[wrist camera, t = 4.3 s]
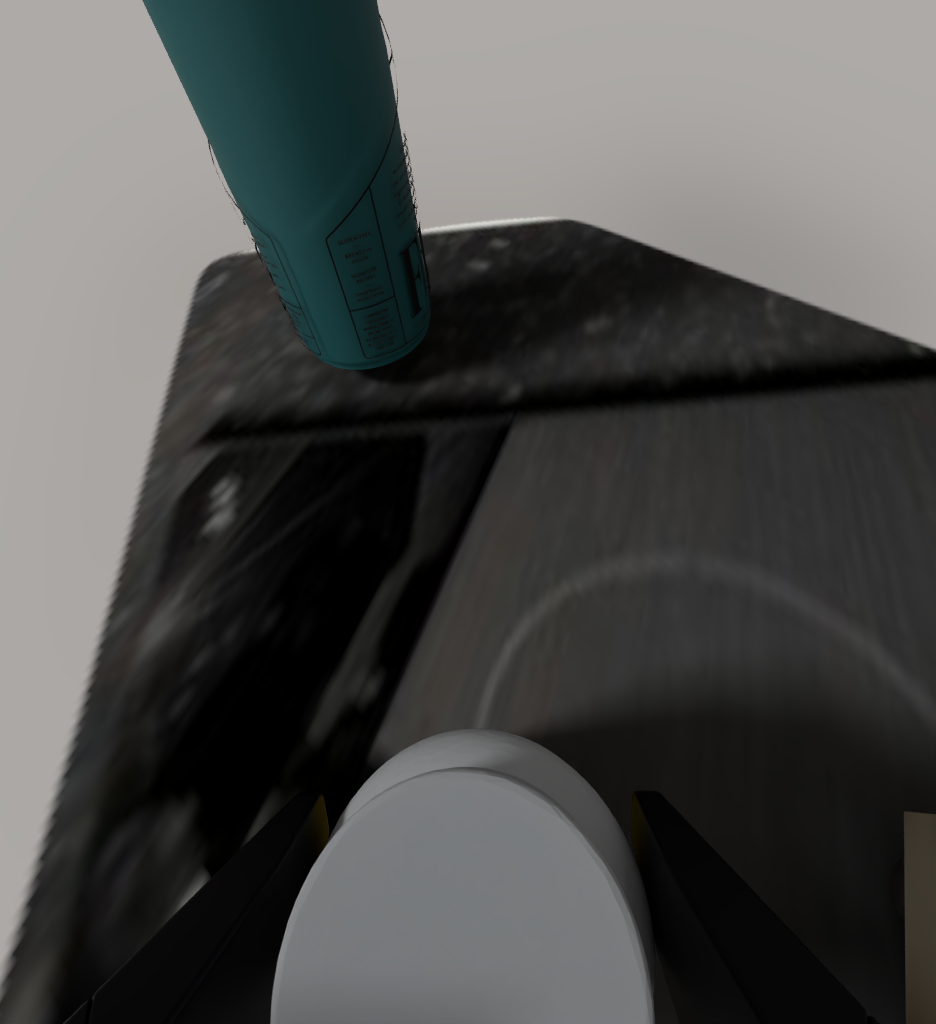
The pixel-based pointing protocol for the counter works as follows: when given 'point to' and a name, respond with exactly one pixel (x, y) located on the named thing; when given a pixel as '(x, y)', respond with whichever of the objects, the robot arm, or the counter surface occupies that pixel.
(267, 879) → the robot arm
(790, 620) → the counter surface
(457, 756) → the supplement bottle
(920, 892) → the shallow square tray
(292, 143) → the beverage bottle
